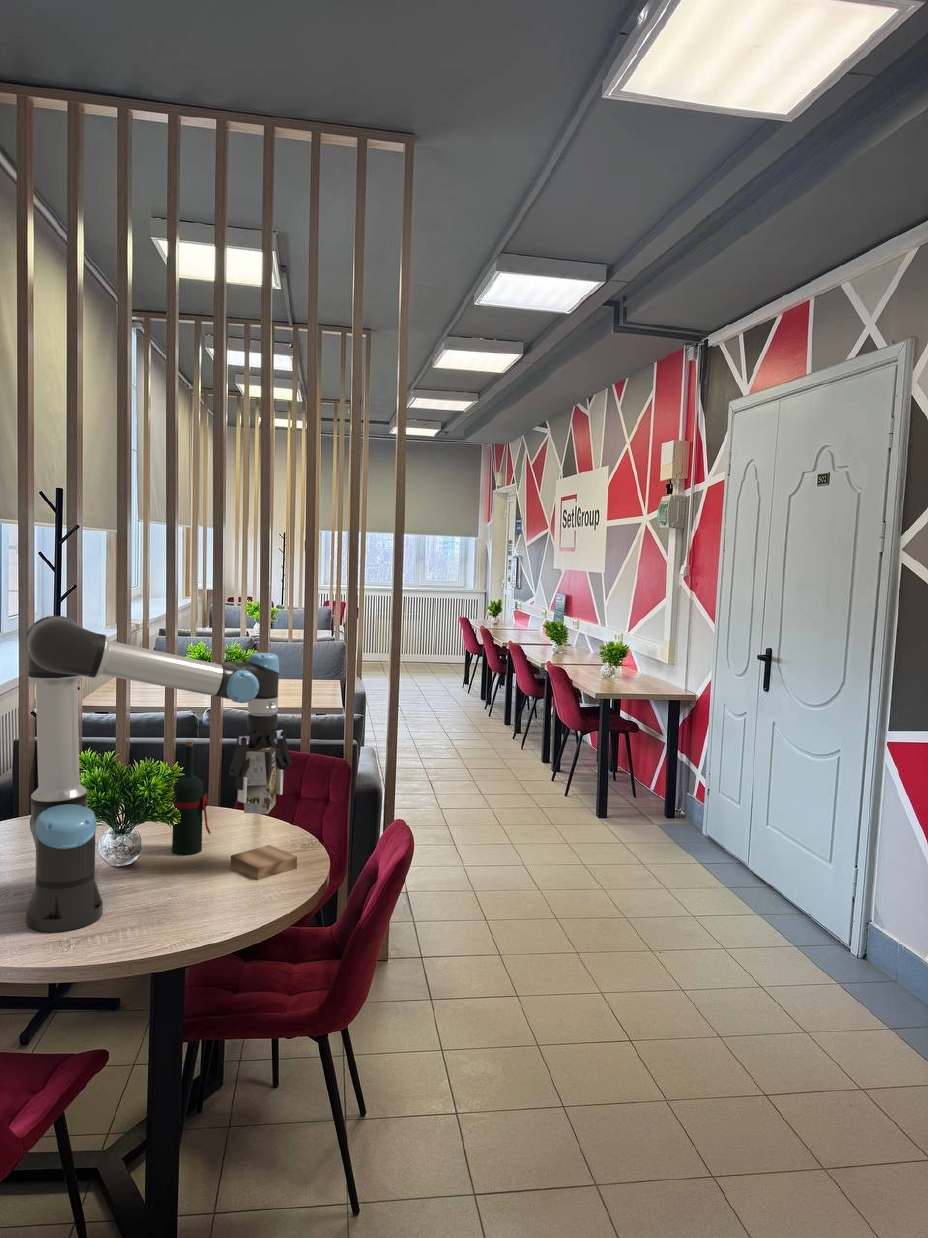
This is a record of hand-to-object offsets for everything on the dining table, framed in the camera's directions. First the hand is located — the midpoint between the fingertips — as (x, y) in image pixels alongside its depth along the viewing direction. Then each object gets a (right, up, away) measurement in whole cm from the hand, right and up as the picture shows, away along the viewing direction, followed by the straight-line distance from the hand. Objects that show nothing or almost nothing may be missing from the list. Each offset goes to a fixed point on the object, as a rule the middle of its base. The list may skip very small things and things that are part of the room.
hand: (260, 797), depth 217 cm
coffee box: (0, -3, 0) cm, 3 cm away
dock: (+1, -18, 0) cm, 18 cm away
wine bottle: (-21, -17, +10) cm, 29 cm away
